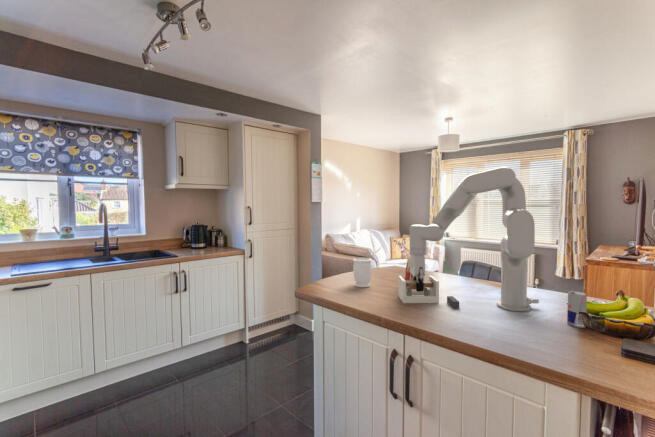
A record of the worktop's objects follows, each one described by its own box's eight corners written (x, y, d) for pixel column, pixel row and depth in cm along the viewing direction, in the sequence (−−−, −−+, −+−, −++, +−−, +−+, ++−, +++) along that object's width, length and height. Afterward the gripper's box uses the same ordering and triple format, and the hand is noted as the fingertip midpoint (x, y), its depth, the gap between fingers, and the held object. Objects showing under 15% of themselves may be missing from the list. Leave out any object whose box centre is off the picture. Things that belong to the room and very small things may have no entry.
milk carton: (425, 290, 160) (425, 252, 159) (407, 290, 160) (407, 252, 159) (420, 286, 169) (420, 249, 168) (403, 286, 169) (403, 249, 168)
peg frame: (431, 295, 151) (431, 275, 150) (438, 303, 140) (438, 281, 139) (398, 295, 151) (398, 275, 151) (403, 303, 140) (403, 281, 140)
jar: (350, 284, 175) (350, 257, 174) (367, 282, 178) (366, 256, 177) (357, 289, 165) (357, 261, 164) (375, 287, 168) (375, 259, 167)
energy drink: (567, 321, 116) (568, 289, 116) (585, 324, 113) (586, 292, 112) (566, 325, 112) (567, 293, 112) (586, 329, 109) (586, 295, 108)
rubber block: (452, 302, 140) (452, 296, 140) (459, 308, 132) (459, 301, 132) (447, 302, 140) (447, 296, 140) (453, 308, 132) (453, 301, 132)
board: (406, 287, 142) (406, 283, 142) (404, 284, 148) (404, 280, 148) (432, 287, 142) (432, 283, 142) (429, 284, 148) (429, 280, 147)
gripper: (405, 248, 153) (406, 284, 154) (414, 254, 136) (414, 294, 137) (421, 248, 153) (421, 284, 154) (431, 254, 135) (431, 294, 136)
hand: (418, 288), depth 145 cm, fingers open, 5 cm apart
